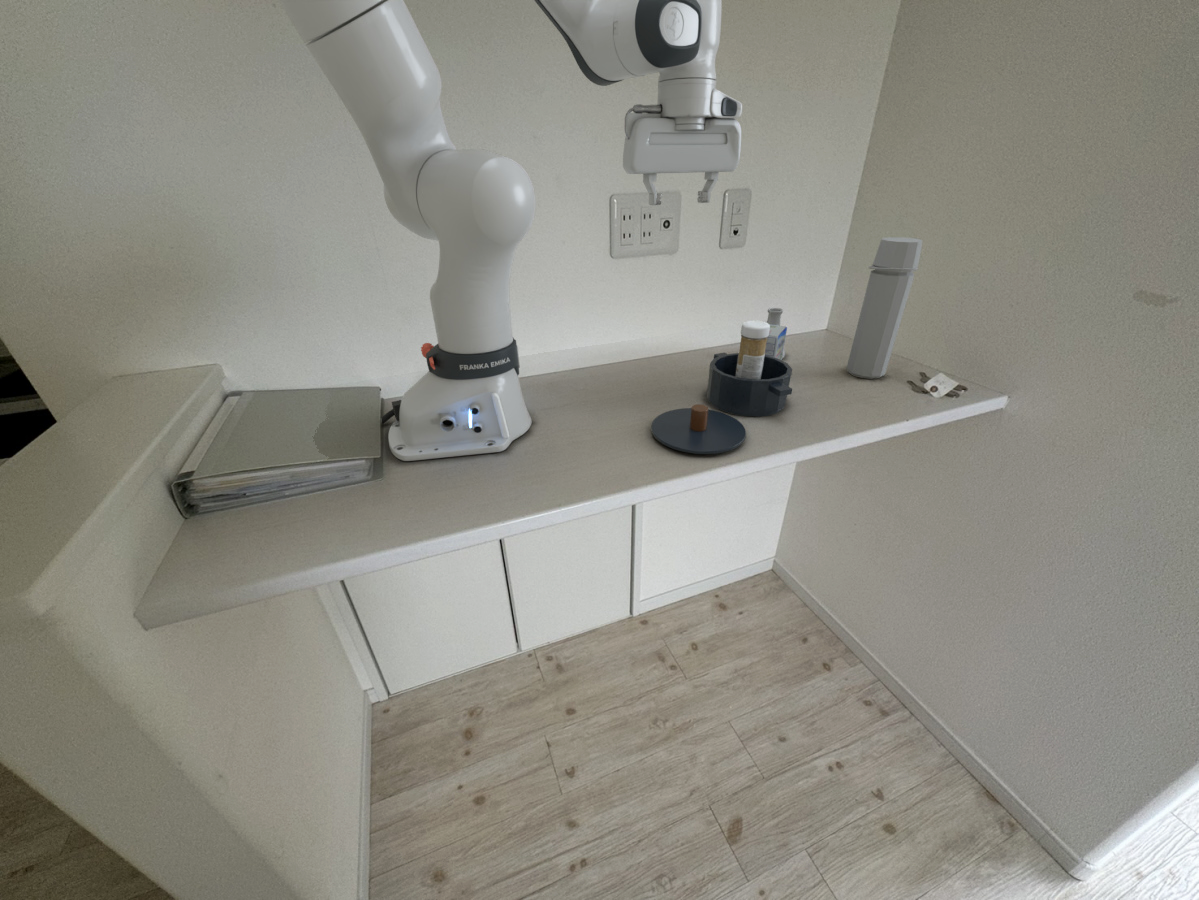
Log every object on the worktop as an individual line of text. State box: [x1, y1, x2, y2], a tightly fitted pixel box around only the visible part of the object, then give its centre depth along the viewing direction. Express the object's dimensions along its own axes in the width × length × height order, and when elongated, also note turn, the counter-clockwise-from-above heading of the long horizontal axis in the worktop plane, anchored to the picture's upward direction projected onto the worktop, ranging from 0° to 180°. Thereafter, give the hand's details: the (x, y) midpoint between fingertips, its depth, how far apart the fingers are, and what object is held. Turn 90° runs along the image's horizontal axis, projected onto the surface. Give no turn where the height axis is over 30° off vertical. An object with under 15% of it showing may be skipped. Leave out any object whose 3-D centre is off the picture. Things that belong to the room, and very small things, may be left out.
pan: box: [706, 352, 793, 418], centre depth 88 cm, size 14×19×6 cm
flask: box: [766, 307, 786, 359], centre depth 107 cm, size 7×7×10 cm
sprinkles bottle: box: [735, 320, 770, 379], centre depth 86 cm, size 5×5×14 cm
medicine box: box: [765, 325, 788, 361], centre depth 99 cm, size 8×4×9 cm, turn 150°
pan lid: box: [650, 403, 747, 455], centre depth 77 cm, size 15×15×5 cm
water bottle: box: [846, 236, 924, 380], centre depth 94 cm, size 9×8×25 cm
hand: (679, 203), depth 84 cm, fingers open, 8 cm apart
